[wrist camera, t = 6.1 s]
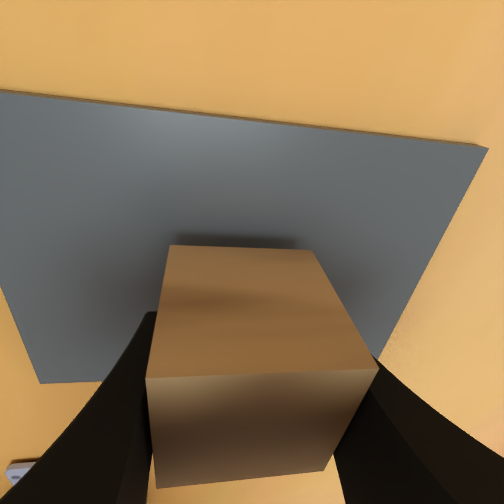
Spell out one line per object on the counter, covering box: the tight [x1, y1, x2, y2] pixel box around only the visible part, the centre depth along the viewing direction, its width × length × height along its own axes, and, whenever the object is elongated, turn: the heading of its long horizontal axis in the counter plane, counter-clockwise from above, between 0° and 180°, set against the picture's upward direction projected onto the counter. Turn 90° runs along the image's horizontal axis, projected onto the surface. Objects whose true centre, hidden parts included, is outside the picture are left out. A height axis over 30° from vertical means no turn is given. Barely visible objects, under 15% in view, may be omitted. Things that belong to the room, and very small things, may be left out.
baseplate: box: [0, 89, 489, 384], centre depth 13 cm, size 13×18×1 cm
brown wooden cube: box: [145, 245, 379, 489], centre depth 10 cm, size 5×5×5 cm
